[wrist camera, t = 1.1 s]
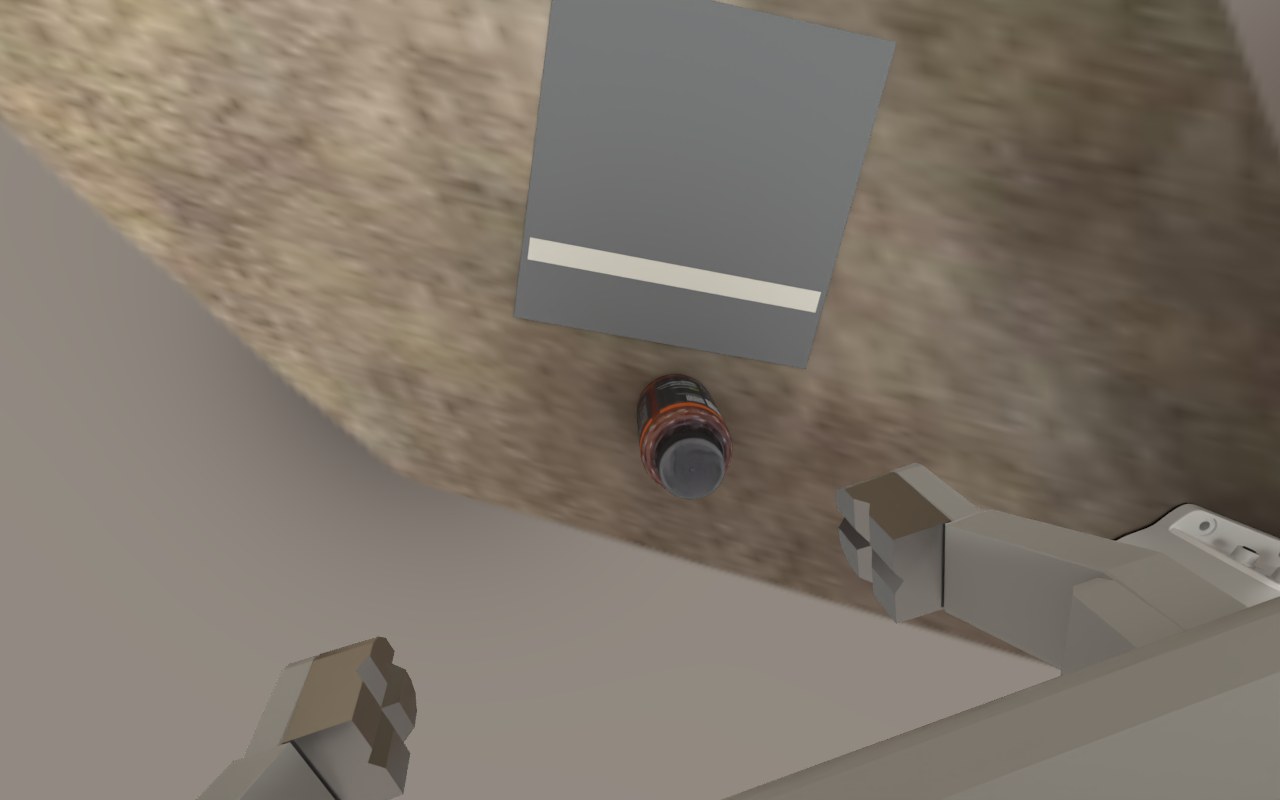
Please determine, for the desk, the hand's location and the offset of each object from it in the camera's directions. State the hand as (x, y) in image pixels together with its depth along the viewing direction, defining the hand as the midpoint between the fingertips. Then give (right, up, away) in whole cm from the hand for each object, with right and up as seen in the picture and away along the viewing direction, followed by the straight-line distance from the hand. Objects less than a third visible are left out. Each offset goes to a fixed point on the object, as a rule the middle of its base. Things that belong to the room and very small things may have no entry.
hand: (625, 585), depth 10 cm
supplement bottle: (+3, +3, +35) cm, 35 cm away
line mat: (+4, +18, +30) cm, 35 cm away
